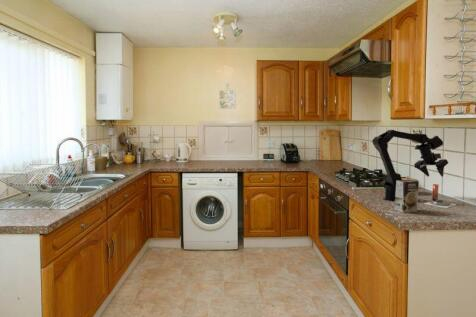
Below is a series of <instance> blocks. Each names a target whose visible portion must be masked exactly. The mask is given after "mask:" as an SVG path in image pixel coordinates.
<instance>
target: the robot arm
mask: <svg viewBox="0 0 476 317" xmlns="http://www.w3.org/2000/svg"><path fill="white" fill-rule="evenodd" d="M394 138H398V139H404V140H408V141H411V142H412V143H415V144H416V145H415V148H414V150H416V151H417V150H418V151H419V153H420V155H421V156H420V160H418V161H416V162H414V168H415V169H417V170H419V171H421V172H422V173H423V174H424V175H425V176H426V177H427V178H428V177H429V176H430V173H429V170H428V168H427V166H435V167H436V168H435V169H436V170H437V172H438V173H439V175H440V176H441V177H442V178H443V177H444V172H445V167H446V166H447V165H448V164H449V161H448V159H445V158H443V159H442V154H441V153H435V152H432V151H434V150H436V149H438V148H441V147H443V145H444V141H443V140H442V138H440V137H439V136H438V135H435V136H433V137H431V138H430V137H429V136H428V135H427V134H425V133H410V132H404V131H399V130H395V129H389V130H386V131H385V132H383V133H381V134H379V135H378V136H375V137H374V138H373V139H372V142H371V143H372V145H373V147H374V148H375V149H376V150H377V152H378V153H379V156H380V158H381V160H382V161H381V162H382V164H383V167H384V169H385V172H386V177H385V179H386V181H385V182H384V183H383V184H382V186H383V188H384V189H385V194H384V195H385V196H384V197H383V198H382V199H383V200H386V201H391V202H395V195H396V180H402V178H403V177H402V175H401V173H397V172H396V171H395V167H394V164H393V161H392V159H391V156H390V153H389V151H388V149H389V145H388V144H389V142H390V141H391V140H392V139H394ZM421 159H422V160H421ZM438 159H439V160H438Z"/></svg>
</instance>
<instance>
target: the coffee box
mask: <svg viewBox="0 0 476 317" xmlns="http://www.w3.org/2000/svg"><path fill="white" fill-rule="evenodd" d="M419 184H420V182H419V180H418V181H414V180H396V195H395V201H394V211H396V210H397V212H400V213H402V214H404V213H415V212H416V213H417V212H418V201H419V200H418V199H419Z"/></svg>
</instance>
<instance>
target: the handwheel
mask: <svg viewBox="0 0 476 317" xmlns="http://www.w3.org/2000/svg"><path fill="white" fill-rule="evenodd" d="M439 186H440V185H439V184H437V183H433V184H432V192H431V193H432V194H431V200H429V202H430V203H433V204H437V205H451V201H449V200H443V199H438V198H439Z"/></svg>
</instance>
